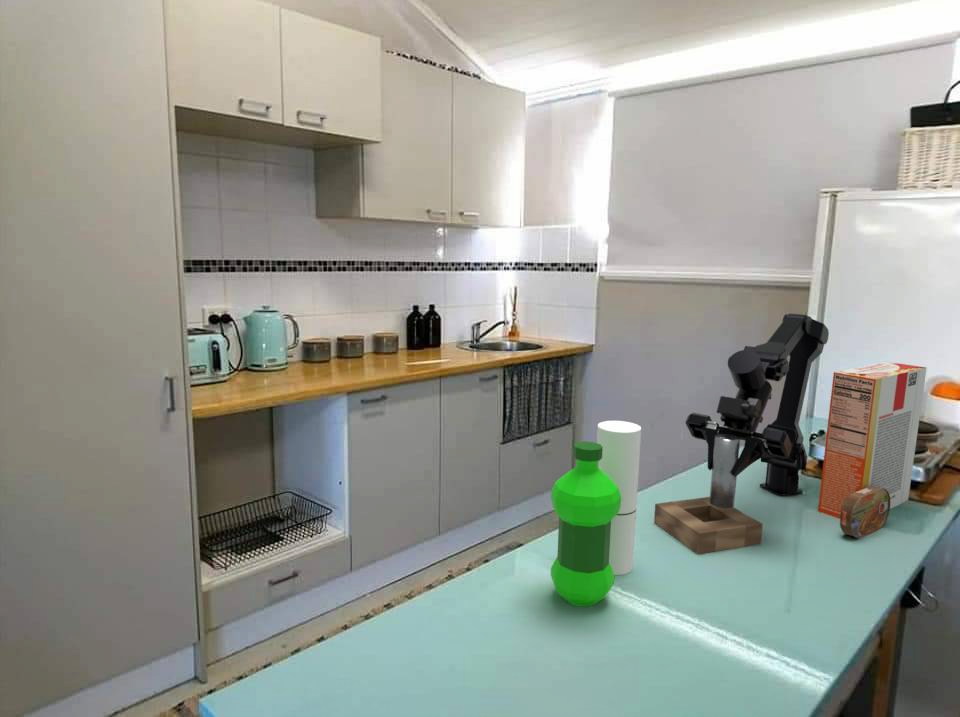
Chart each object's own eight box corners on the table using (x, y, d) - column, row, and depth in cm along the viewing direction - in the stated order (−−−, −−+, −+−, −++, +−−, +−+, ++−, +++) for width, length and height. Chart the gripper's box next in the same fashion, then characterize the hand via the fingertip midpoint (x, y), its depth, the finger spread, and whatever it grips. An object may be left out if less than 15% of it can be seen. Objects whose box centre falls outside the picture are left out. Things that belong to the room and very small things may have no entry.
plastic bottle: (622, 591, 106) (631, 442, 101) (599, 623, 97) (608, 461, 92) (565, 574, 110) (571, 432, 106) (538, 603, 102) (543, 449, 97)
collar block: (654, 522, 132) (655, 503, 131) (712, 514, 136) (713, 496, 135) (697, 554, 119) (699, 533, 118) (760, 544, 123) (762, 524, 122)
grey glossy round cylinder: (706, 498, 126) (712, 433, 124) (730, 499, 126) (736, 434, 124) (712, 507, 122) (718, 440, 120) (737, 508, 122) (743, 441, 119)
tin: (850, 543, 124) (855, 501, 123) (834, 536, 127) (839, 495, 125) (889, 525, 132) (894, 485, 131) (873, 519, 135) (878, 480, 133)
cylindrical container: (630, 556, 117) (638, 421, 113) (635, 576, 110) (644, 433, 106) (589, 554, 118) (596, 419, 113) (592, 573, 111) (599, 431, 106)
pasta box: (869, 489, 152) (886, 361, 146) (908, 500, 145) (926, 367, 140) (817, 511, 139) (833, 372, 133) (857, 524, 132) (875, 379, 127)
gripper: (693, 372, 129) (662, 438, 123) (792, 388, 117) (764, 462, 111) (707, 404, 136) (679, 468, 130) (802, 422, 124) (776, 493, 118)
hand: (721, 472), depth 122 cm, fingers closed on grey glossy round cylinder, 4 cm apart
